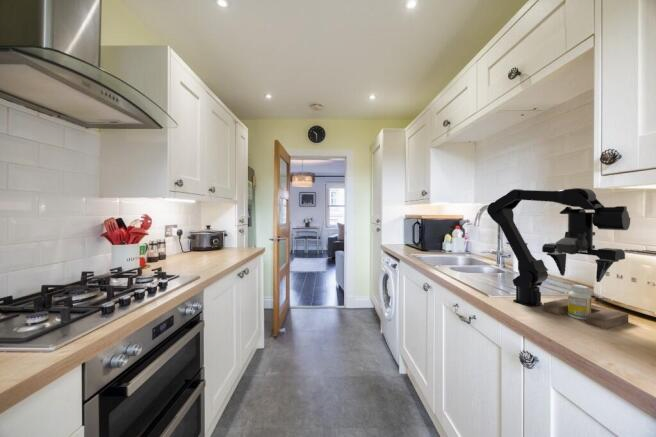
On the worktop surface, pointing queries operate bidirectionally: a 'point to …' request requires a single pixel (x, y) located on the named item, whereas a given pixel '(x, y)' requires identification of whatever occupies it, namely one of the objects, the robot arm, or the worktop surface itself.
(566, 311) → the notched board
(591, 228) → the robot arm
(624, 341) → the worktop surface
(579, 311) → the supplement bottle
